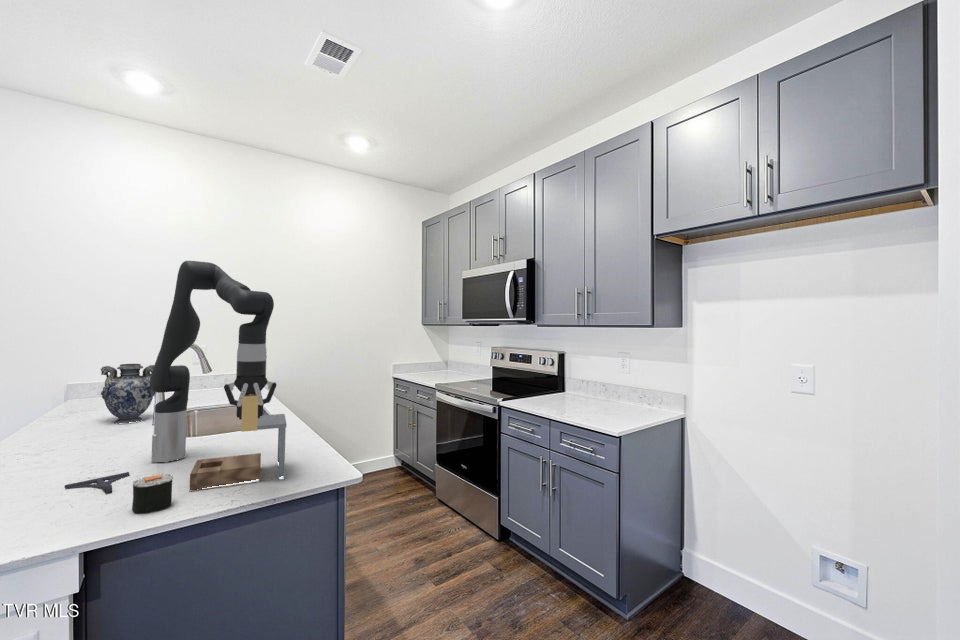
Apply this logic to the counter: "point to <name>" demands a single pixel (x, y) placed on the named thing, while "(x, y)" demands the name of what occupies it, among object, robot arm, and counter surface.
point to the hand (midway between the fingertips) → (249, 418)
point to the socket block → (225, 470)
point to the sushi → (152, 493)
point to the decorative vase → (127, 391)
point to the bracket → (99, 483)
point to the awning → (279, 423)
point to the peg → (249, 413)
